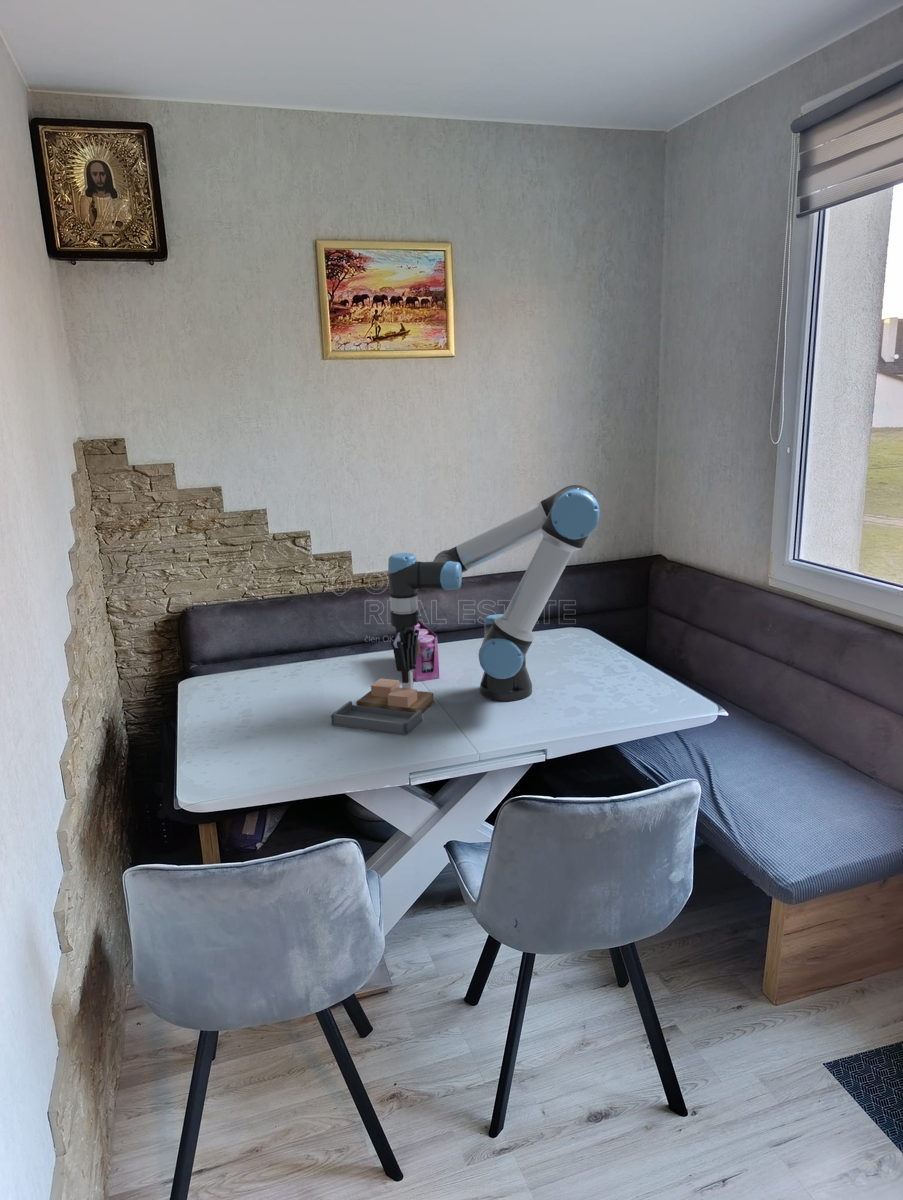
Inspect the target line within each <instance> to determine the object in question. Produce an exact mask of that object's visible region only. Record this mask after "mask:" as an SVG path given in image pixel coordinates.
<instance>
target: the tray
mask: <svg viewBox="0 0 903 1200" xmlns="http://www.w3.org/2000/svg"><path fill="white" fill-rule="evenodd" d="M330 718H331V726H335V727H336V726H337V727H342V728H351V729H357V730H364V731H370V732H371V731H373V732H379V733H386V734H393V735H401V736H407V735H409V734H410V733H411V732H412V731H413V730H414V729H415V728H416V727H417V726H418V725H419V724H421V723H422V722H423V713H422V710H418V711H417V712H416V713H414V712H406V711H398V710H390V709H382V708H374V707H366V706H358V705H357V704H353V701H351V700H349V701H348V702H346V703H345V704H343V705H342V706H341V707H340V708H337V709H336V711H334V712H333V713H331V715H330Z"/></svg>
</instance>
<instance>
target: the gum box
mask: <svg viewBox="0 0 903 1200" xmlns="http://www.w3.org/2000/svg"><path fill="white" fill-rule="evenodd" d="M418 621H419V622H418V624H417V625H416V626H415V629H417V630H419V635H418V643H417V659H416V665H414V666H416V669H412V671H413V680H414V681H415V682H421V681H429V680H437V679H440V662H439V661H440V660H439V659H440V658H439V644H438V643H439V642H438V636H437V634H436V633H435V632H433V631H432V630H431V629H429V627H428V626H426V625H425V624H424V622H422V621H421V620H419V618H418Z"/></svg>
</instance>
